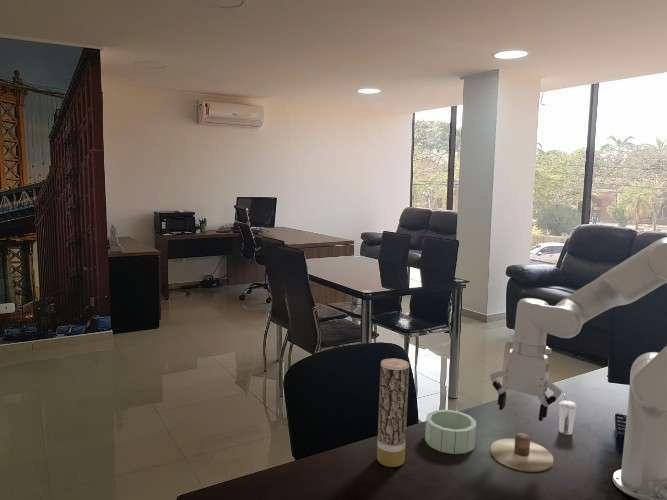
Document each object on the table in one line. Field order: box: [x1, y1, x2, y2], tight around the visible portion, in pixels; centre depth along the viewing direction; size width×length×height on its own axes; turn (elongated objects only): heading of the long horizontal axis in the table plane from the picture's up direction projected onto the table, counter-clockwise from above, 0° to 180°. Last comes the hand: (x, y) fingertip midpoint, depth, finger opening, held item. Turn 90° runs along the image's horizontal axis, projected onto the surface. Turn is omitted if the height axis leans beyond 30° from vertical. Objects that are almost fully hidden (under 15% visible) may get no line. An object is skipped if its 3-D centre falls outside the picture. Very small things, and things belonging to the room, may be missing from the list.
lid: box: [490, 432, 554, 473], centre depth 133 cm, size 15×15×6 cm
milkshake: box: [558, 393, 578, 436], centre depth 147 cm, size 4×5×10 cm
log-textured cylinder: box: [376, 358, 410, 468], centre depth 128 cm, size 7×7×25 cm
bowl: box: [424, 409, 477, 455], centre depth 140 cm, size 13×13×6 cm
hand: (521, 413), depth 133 cm, fingers open, 9 cm apart
